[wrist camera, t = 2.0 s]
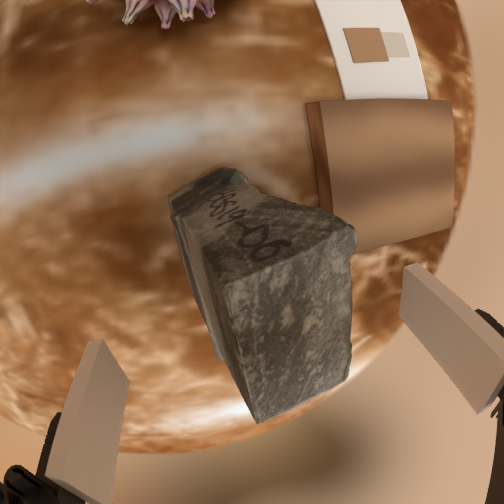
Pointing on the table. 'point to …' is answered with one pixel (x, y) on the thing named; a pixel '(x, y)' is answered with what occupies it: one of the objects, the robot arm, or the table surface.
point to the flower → (166, 9)
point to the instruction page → (372, 49)
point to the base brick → (385, 166)
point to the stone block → (268, 288)
